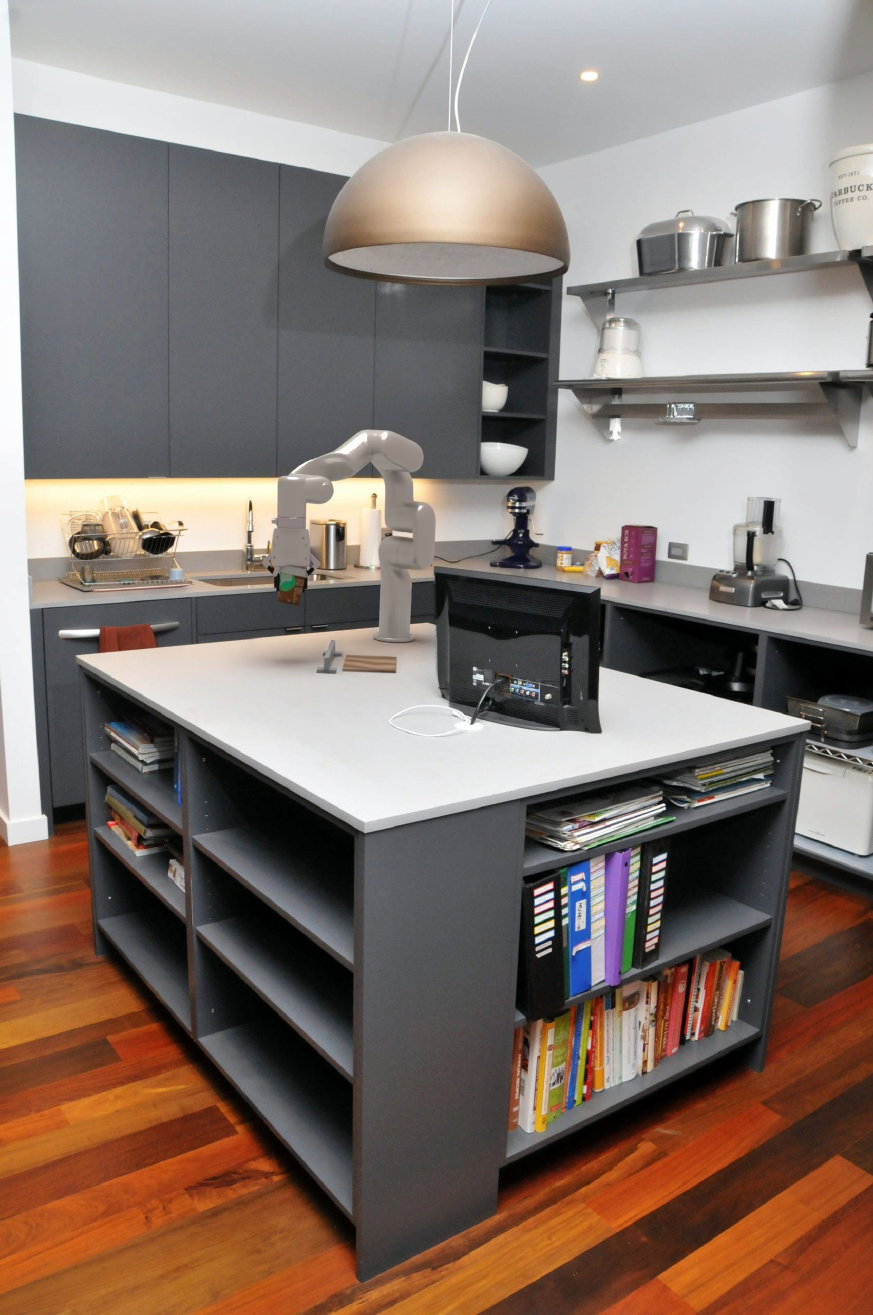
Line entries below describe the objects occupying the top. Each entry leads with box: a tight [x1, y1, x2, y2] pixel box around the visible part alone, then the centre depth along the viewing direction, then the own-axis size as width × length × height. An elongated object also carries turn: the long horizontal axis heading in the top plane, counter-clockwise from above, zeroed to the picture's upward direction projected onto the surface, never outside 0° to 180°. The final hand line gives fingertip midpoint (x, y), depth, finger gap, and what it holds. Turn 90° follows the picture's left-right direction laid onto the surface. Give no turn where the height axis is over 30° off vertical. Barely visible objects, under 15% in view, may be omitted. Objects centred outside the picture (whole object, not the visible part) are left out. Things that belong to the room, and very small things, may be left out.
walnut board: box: [342, 654, 397, 674], centre depth 272 cm, size 18×14×1 cm
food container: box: [276, 565, 306, 607], centre depth 267 cm, size 12×6×10 cm, turn 20°
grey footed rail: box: [316, 639, 343, 674], centre depth 271 cm, size 24×5×4 cm, turn 2°
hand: (290, 590), depth 267 cm, fingers closed on food container, 6 cm apart
